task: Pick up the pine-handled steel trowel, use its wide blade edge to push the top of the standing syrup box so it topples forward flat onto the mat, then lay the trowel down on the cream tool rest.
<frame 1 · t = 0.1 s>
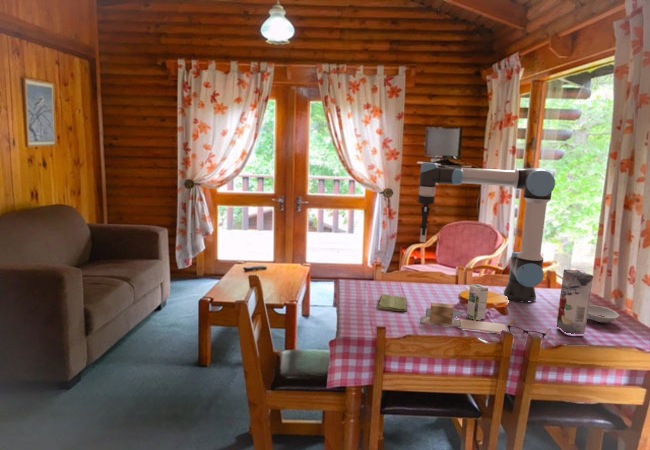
hand: (423, 239, 247), 28 cm above the table, fingers open, 13 cm apart
rest: (483, 328, 210), on the table
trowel: (440, 323, 215), on the table
syrup box: (475, 318, 222), on the table
washcloth: (393, 306, 234), on the table
eyeglasses: (528, 334, 208), on the table
juice carton: (569, 333, 210), on the table
dish: (597, 322, 226), on the table
mat: (444, 314, 225), on the table
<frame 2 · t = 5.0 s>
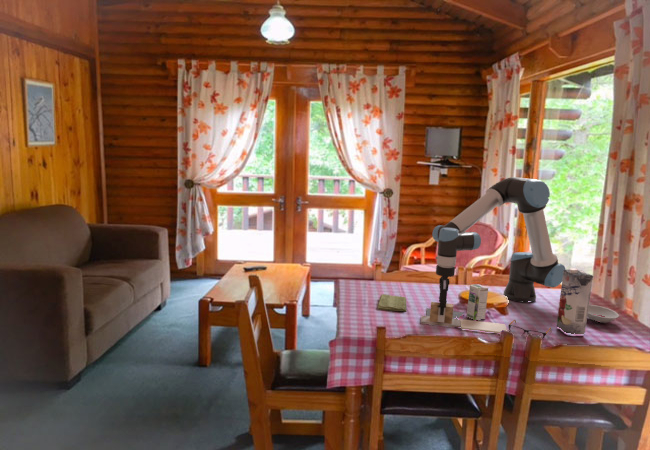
hand: (440, 319, 214), 1 cm above the table, fingers closed on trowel, 4 cm apart
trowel: (440, 322, 215), on the table, touching gripper
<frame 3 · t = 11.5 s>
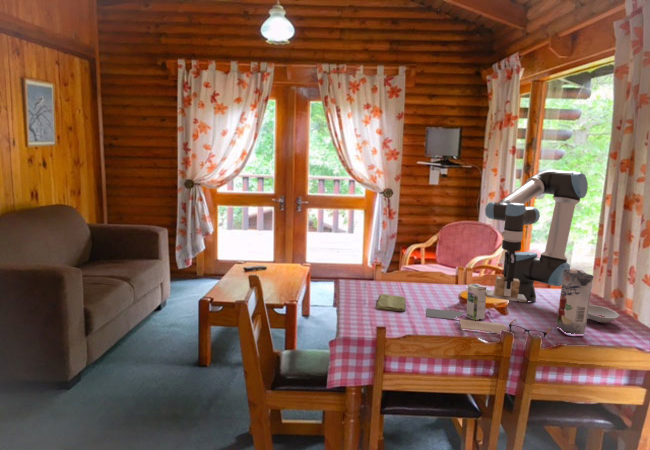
hand: (506, 293, 218), 12 cm above the table, fingers closed on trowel, 4 cm apart
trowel: (505, 297, 218), point 11 cm above the table, touching gripper
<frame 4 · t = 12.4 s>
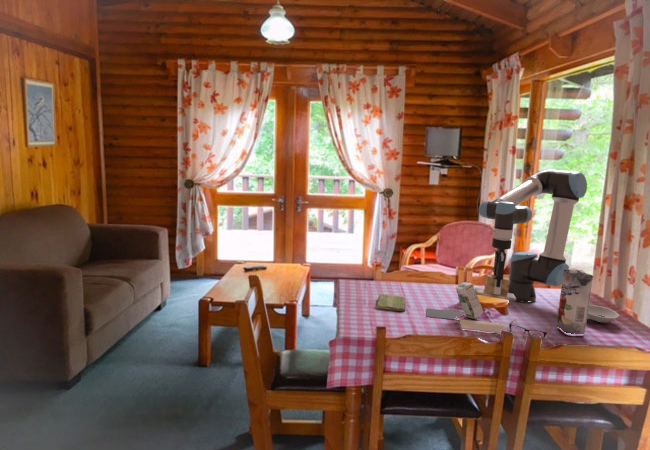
hand: (496, 292, 218), 13 cm above the table, fingers closed on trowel, 4 cm apart
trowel: (495, 295, 219), point 11 cm above the table, touching gripper, syrup box
syrup box: (475, 315, 222), point 1 cm above the table, touching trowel
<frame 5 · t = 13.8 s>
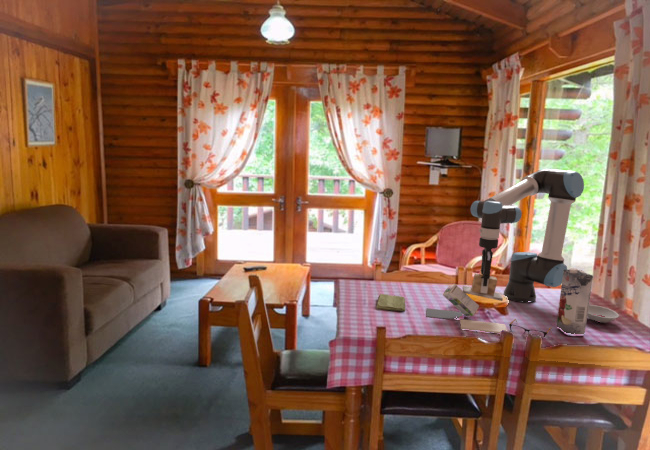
hand: (483, 291, 220), 12 cm above the table, fingers closed on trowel, 4 cm apart
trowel: (481, 294, 220), point 11 cm above the table, tilted 6°, touching gripper, syrup box
syrup box: (473, 311, 222), point 3 cm above the table, touching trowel
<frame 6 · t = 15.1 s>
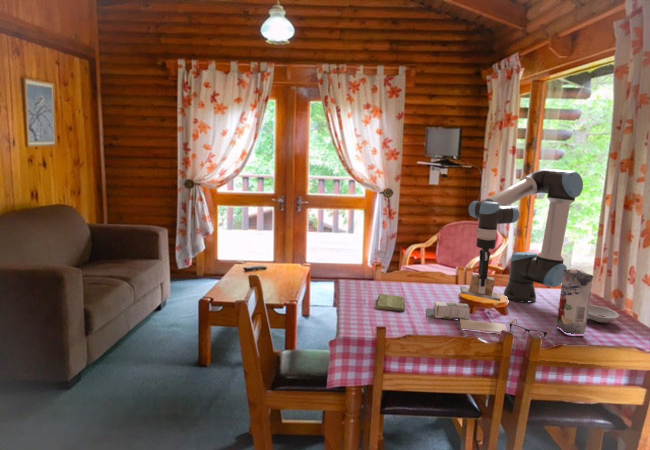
hand: (480, 291, 220), 12 cm above the table, fingers closed on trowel, 4 cm apart
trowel: (479, 294, 220), point 11 cm above the table, tilted 6°, touching gripper
syrup box: (468, 311, 220), point 3 cm above the table, touching mat
when the fingers open (4 cm above the table, at t = 21.3 s): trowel drops 1 cm, resting on rest.
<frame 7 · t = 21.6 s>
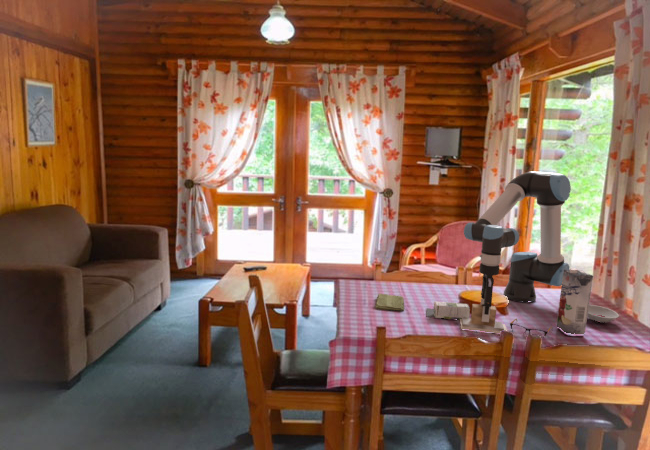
hand: (484, 317, 210), 5 cm above the table, fingers open, 8 cm apart
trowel: (482, 325, 210), point 1 cm above the table, touching rest
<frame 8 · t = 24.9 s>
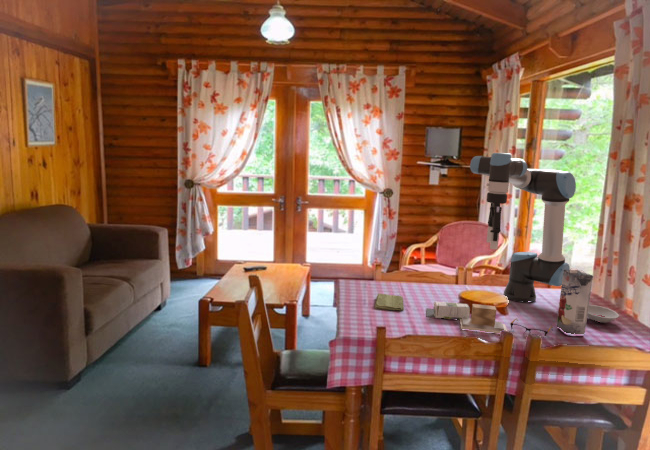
hand: (491, 245, 205), 35 cm above the table, fingers open, 13 cm apart
at the end: syrup box tilted 90°; syrup box inside the target area (9.5 cm from its centre), point 3.3 cm above the table; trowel inside the target area on the rest (0.4 cm from its centre), point 1.2 cm above the rest's base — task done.
